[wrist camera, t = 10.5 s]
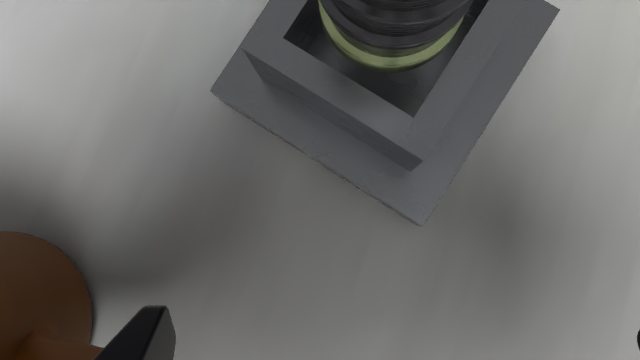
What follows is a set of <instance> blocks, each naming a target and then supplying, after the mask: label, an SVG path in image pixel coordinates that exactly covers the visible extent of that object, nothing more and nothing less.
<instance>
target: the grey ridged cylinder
mask: <svg viewBox="0 0 640 360" xmlns="http://www.w3.org/2000/svg"><path fill="white" fill-rule="evenodd" d="M318 2H319V8H320V15H321V21H322V24H323V27H324V30H325V32H326V34H327V37H328V38H329V40H330V41H331V43H332V44H333V46H334V47H335V48H336V49H337V51H338V52H340V53H341V54H342V55H343V56H344V57H345V58H346V59H348V60H349V61H351V62H352V63H354V64H356V65H358V66H360V67H362V68H365V69H368V70H372V71H376V72H384V73H397V72H403V71H408V70H412V69H415V68H417V67H420V66H422V65H424V64H426V63H428V62H429V61H431V60H433V59H434V58H435V57H436V56H438V55H439V54H440V53H441V52H442V51H443V50H444V49H445V48H446V47H447V45H448V44H449V43H450V41H451V40H452V38H453V36H454V35H455V33H456V31H457V29H458V27H459V26H460V24H461V22H462V20H463V17H464V15H465V14H466V12H467V11H468V9H469V7H470V6H471V4H472V2H473V0H318Z"/></svg>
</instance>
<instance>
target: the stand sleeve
mask: <svg viewBox="0 0 640 360" xmlns="http://www.w3.org/2000/svg"><path fill="white" fill-rule="evenodd" d="M559 11H560V9H558V8H556V7H555V6H553V5H551V4H549V3H548V2H546V1H544V0H473V2H472V4H471V6H470V7H469V9H468V11H467V12H466V14H465V15H464V17H463V20H462V22H461V24H460V26H459V27H458V29H457V31H456V33H455V35H454V36H453V38H452V40H451V41H450V43H449V44H448V45H447V47H446V48H445V49H444V50H443V51H442V52H441V53H440V54H439V55H438V56H436V57H435V58H434V59H433V60H431V61H429V62H428V63H426V64H424V65H422V66H420V67H417V68H415V69H412V70H408V71H403V72H397V73H384V72H376V71H372V70H368V69H365V68H362V67H360V66H358V65H356V64H354V63H352V62H351V61H349V60H348V59H346V58H345V57H344V56H343V55H342V54H341V53H340V52H338V51H337V49H336V48H335V47H334V46H333V44H332V43H331V41H330V40H329V38H328V37H327V34H326V32H325V30H324V27H323V24H322V21H321V15H320V8H319V2H318V0H270V1H269V2H268V4H267V5H266V7H265V8H264V10H263V11H262V13H261V14H260V16H259V17H258V19H257V20H256V22H255V23H254V25H253V26H252V28H251V29H250V31H249V32H248V34H247V35H246V37H245V38H244V40H243V41H242V43H241V44H240V46H239V48H238V49H237V51H236V52H235V54H234V55H233V57H232V58H231V60H230V61H229V63H228V64H227V66H226V67H225V69H224V70H223V72H222V73H221V75H220V76H219V78H218V79H217V81H216V82H215V84H214V85H213V87H212V88H211V90H210V91H211V92H212V93H213V94H214V95H215V96H216V97H217V98H219V99H220V100H221V101H223V102H224V103H226V104H227V105H229V106H230V107H232V108H234V109H235V110H237V111H238V112H240V113H241V114H243V115H245V116H246V117H248V118H249V119H251V120H252V121H254V122H256V123H257V124H259V125H260V126H262V127H264V128H265V129H267V130H268V131H270V132H271V133H273V134H275V135H276V136H278V137H279V138H281V139H282V140H284V141H286V142H287V143H289V144H290V145H292V146H293V147H295V148H297V149H298V150H300V151H301V152H303V153H304V154H306V155H308V156H309V157H311V158H312V159H314V160H315V161H317V162H319V163H320V164H322V165H323V166H325V167H326V168H328V169H330V170H331V171H333V172H334V173H336V174H337V175H339V176H341V177H342V178H344V179H345V180H347V181H348V182H350V183H352V184H353V185H355V186H356V187H358V188H360V189H361V190H363V191H364V192H366V193H367V194H369V195H371V196H372V197H374V198H375V199H377V200H378V201H380V202H382V203H383V204H385V205H386V206H388V207H389V208H391V209H393V210H394V211H396V212H397V213H399V214H400V215H402V216H404V217H405V218H407V219H408V220H410V221H411V222H413V223H415V224H416V225H418V226H423V225H424V224H425V222H426V221H427V219H428V217H429V216H430V214H431V213H432V211H433V210H434V208H435V206H436V205H437V203H438V202H439V200H440V199H441V197H442V195H443V194H444V192H445V191H446V189H447V187H448V186H449V184H450V183H451V181H452V180H453V178H454V176H455V175H456V173H457V172H458V170H459V169H460V167H461V165H462V164H463V162H464V161H465V159H466V157H467V156H468V154H469V153H470V151H471V150H472V148H473V146H474V145H475V143H476V142H477V140H478V139H479V137H480V135H481V134H482V132H483V131H484V129H485V127H486V126H487V124H488V123H489V121H490V120H491V118H492V116H493V115H494V113H495V112H496V110H497V109H498V107H499V105H500V104H501V102H502V101H503V99H504V97H505V96H506V94H507V93H508V91H509V90H510V88H511V86H512V85H513V83H514V82H515V80H516V79H517V77H518V75H519V74H520V72H521V71H522V69H523V67H524V66H525V64H526V63H527V61H528V60H529V58H530V56H531V55H532V53H533V52H534V50H535V48H536V47H537V45H538V44H539V42H540V41H541V39H542V37H543V36H544V34H545V33H546V31H547V30H548V28H549V26H550V25H551V23H552V22H553V20H554V18H555V17H556V15H557V14H558V12H559Z"/></svg>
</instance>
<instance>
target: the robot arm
mask: <svg viewBox="0 0 640 360" xmlns="http://www.w3.org/2000/svg"><path fill="white" fill-rule="evenodd" d="M175 342H176V336H175V330H174V327H173V323H172V319H171V316H170V312H169V309H168V308H167V307H166V306H163V305H149V306H145V307H143V308H142V309H141V310H140V311H139V312H138V313H137V314H136V315H135V316H134V317H133V318H132V319H131V320H130V321H129V322H128V323H127V324H126V325H125V326H124V327H123V329H122V330H121V331H120V332H119V333H118V334H117V335H116V336H115V337H114V338H113V339H112V340H111V341H110V342H109V343H108V344H107V345H106V347H105V348H104V349H103V350H102V351H101V352H100V353H99V354H98V355H97V356H96V357H95V358H94V359H93V360H173V356H174V350H175ZM637 342H638V347H639V350H640V330H639V332H638V335H637Z"/></svg>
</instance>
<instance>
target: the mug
mask: <svg viewBox="0 0 640 360" xmlns="http://www.w3.org/2000/svg"><path fill="white" fill-rule="evenodd" d="M91 328H92V307H91V301H90V296H89V293H88V289H87V286H86V284H85V282H84V280H83V277H82V275H81V274H80V272H79V271H78V269H77V267H76V266H75V265H74V263H73V262H72V261H71V260H70V259H69V257H68V256H66V255H65V254H64V253H63V252H62V251H61V250H60V249H58V248H57V247H55V246H54V245H52V244H51V243H49V242H47V241H45V240H43V239H40V238H37V237H34V236H31V235H27V234H22V233H17V232H1V231H0V360H93V359H94V358H95V357H96V356H97V355H98V354H99V353H100V352H101V351H102V350H103V348H100V347H97V346H94V345H89V340H90V335H91Z"/></svg>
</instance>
